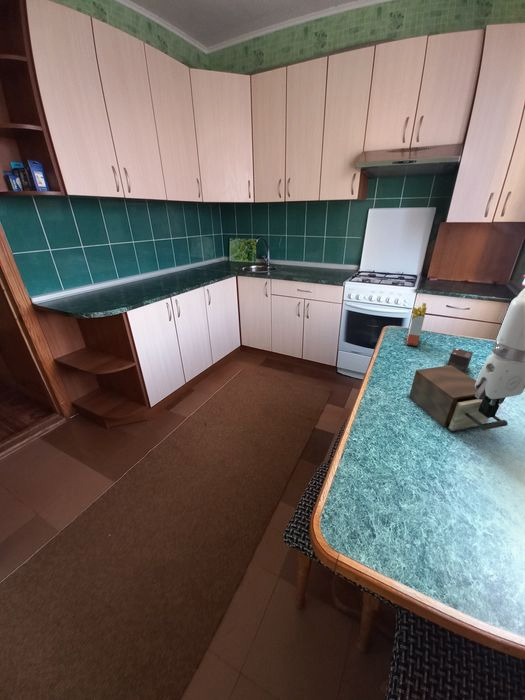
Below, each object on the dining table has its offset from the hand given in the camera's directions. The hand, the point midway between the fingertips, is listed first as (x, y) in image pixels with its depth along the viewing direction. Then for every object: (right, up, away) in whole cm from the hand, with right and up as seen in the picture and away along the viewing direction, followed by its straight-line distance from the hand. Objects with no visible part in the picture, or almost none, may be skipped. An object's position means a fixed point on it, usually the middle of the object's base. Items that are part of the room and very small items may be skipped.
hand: (485, 414), depth 74 cm
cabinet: (-2, -2, +14) cm, 15 cm away
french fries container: (+9, +19, +55) cm, 59 cm away
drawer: (-1, -3, +9) cm, 10 cm away
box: (+15, +9, +34) cm, 38 cm away
